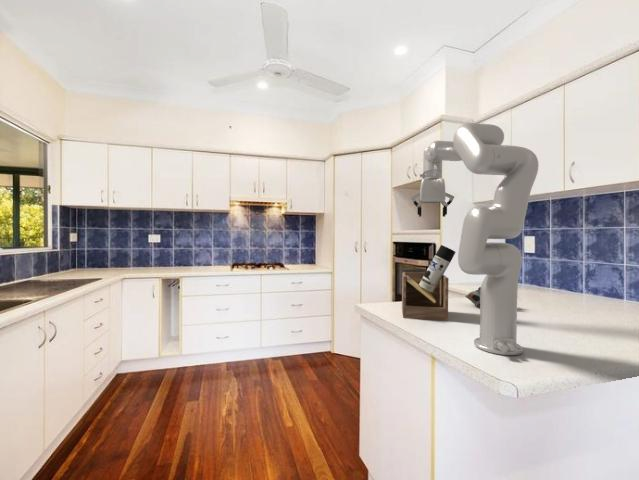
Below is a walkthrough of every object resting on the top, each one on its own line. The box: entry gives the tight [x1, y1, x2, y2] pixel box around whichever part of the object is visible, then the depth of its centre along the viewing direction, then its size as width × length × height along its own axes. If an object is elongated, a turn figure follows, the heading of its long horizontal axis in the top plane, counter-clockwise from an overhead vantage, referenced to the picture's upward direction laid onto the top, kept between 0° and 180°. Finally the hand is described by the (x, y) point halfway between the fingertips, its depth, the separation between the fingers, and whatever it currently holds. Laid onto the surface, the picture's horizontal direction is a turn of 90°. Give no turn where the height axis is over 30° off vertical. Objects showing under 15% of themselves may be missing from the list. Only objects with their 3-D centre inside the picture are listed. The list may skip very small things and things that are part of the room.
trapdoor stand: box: [401, 271, 449, 322], centre depth 129 cm, size 17×17×17 cm
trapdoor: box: [406, 275, 436, 303], centre depth 130 cm, size 14×14×1 cm
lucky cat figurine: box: [465, 286, 481, 307], centre depth 145 cm, size 15×12×14 cm
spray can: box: [419, 244, 457, 293], centre depth 128 cm, size 7×7×20 cm
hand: (431, 216), depth 128 cm, fingers open, 9 cm apart
